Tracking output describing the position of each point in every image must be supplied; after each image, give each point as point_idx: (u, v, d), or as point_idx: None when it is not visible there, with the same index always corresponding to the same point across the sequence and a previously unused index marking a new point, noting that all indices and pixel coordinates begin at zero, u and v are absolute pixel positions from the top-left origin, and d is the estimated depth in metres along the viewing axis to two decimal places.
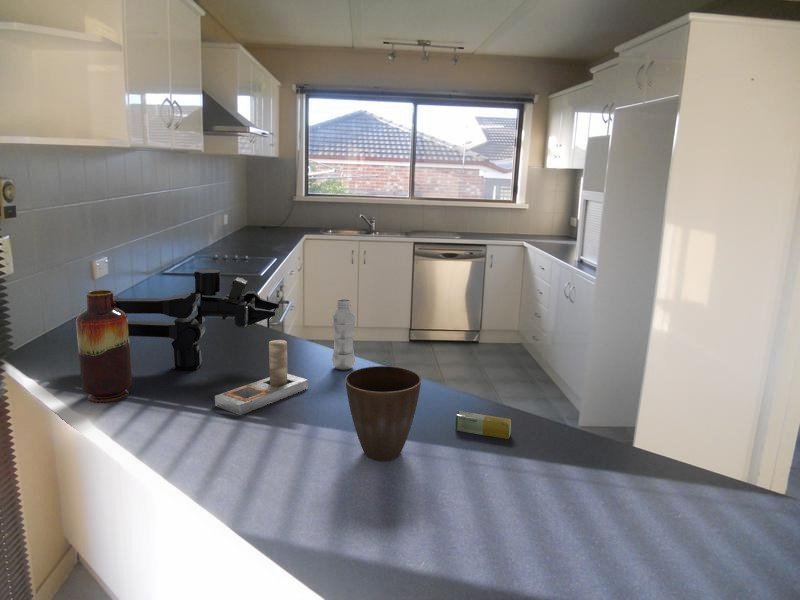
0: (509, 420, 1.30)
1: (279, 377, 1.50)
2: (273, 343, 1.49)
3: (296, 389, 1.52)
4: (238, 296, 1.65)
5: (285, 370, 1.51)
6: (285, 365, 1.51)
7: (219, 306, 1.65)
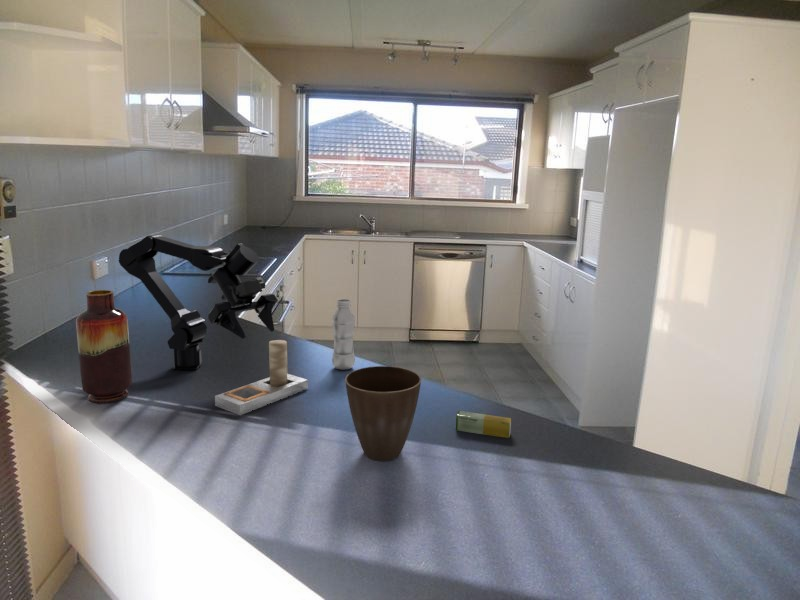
0: (509, 419, 1.30)
1: (279, 377, 1.50)
2: (273, 343, 1.49)
3: (296, 389, 1.52)
4: (239, 295, 1.54)
5: (285, 370, 1.51)
6: (285, 365, 1.51)
7: (224, 286, 1.56)
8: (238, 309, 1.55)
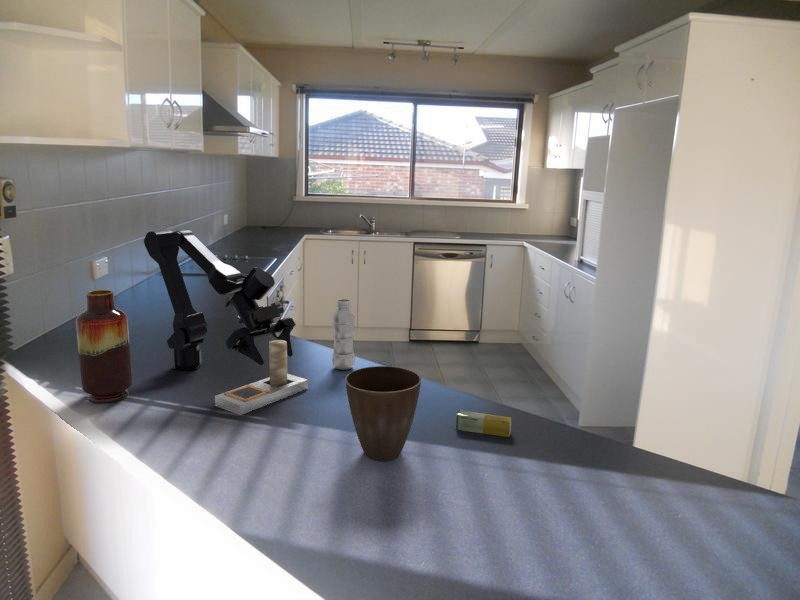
0: (509, 418, 1.31)
1: (279, 377, 1.50)
2: (273, 343, 1.49)
3: (296, 389, 1.52)
4: (257, 320, 1.50)
5: (285, 370, 1.51)
6: (285, 365, 1.51)
7: (242, 311, 1.53)
8: (256, 334, 1.52)
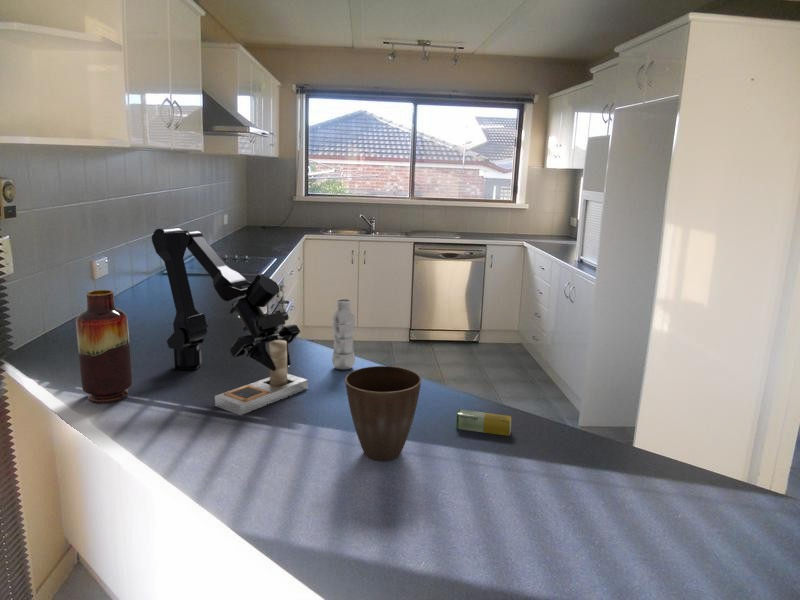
0: (509, 417, 1.31)
1: (279, 377, 1.50)
2: (273, 343, 1.49)
3: (296, 389, 1.52)
4: (262, 328, 1.50)
5: (285, 370, 1.51)
6: (285, 365, 1.51)
7: (246, 318, 1.52)
8: (260, 342, 1.51)
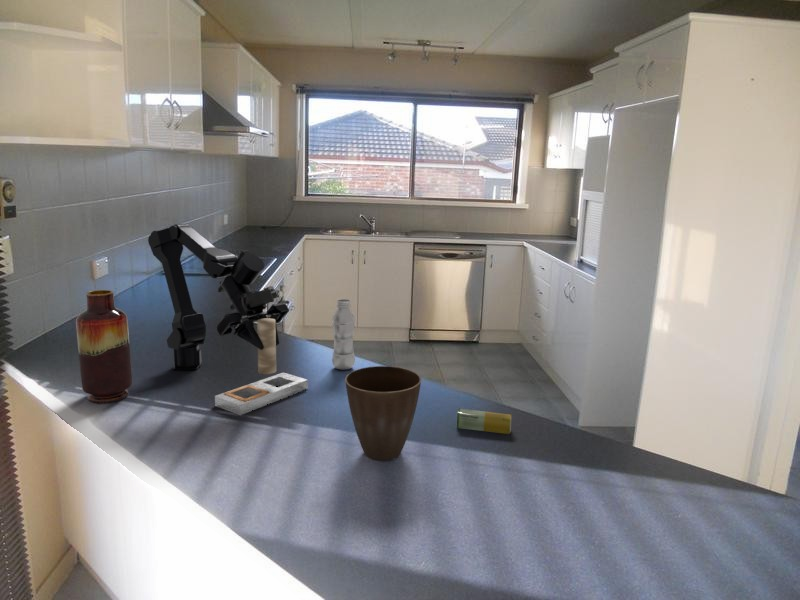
0: (509, 415, 1.32)
1: (267, 357, 1.46)
2: (261, 321, 1.45)
3: (296, 389, 1.52)
4: (249, 305, 1.45)
5: (274, 349, 1.47)
6: (274, 344, 1.46)
7: (234, 296, 1.48)
8: (248, 320, 1.47)
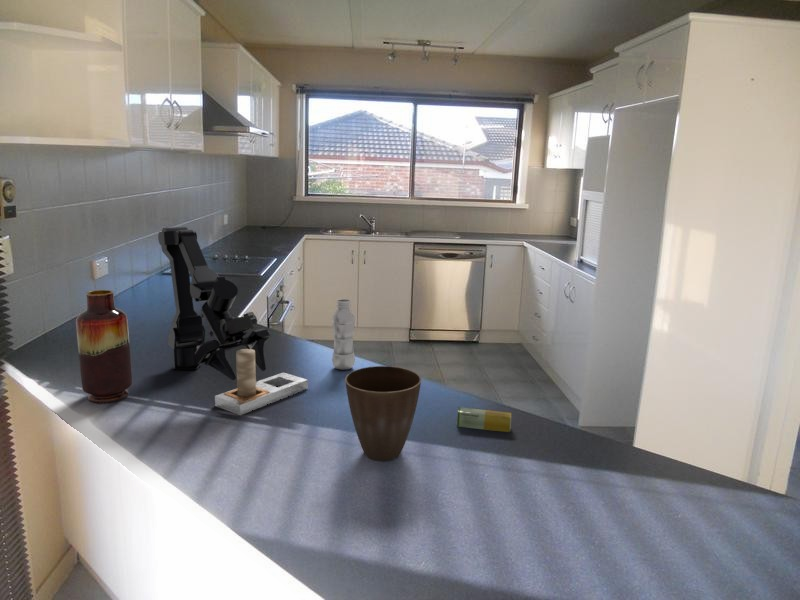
0: (509, 414, 1.33)
1: (246, 389, 1.42)
2: (240, 352, 1.41)
3: (296, 389, 1.52)
4: (228, 332, 1.41)
5: (254, 381, 1.43)
6: (253, 376, 1.42)
7: (213, 322, 1.44)
8: (227, 347, 1.43)
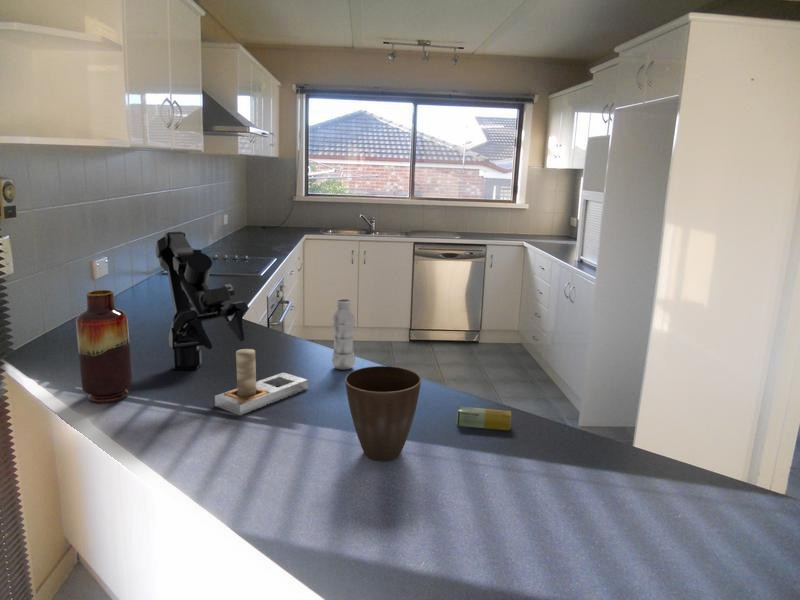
0: (509, 412, 1.34)
1: (246, 389, 1.42)
2: (240, 352, 1.41)
3: (296, 389, 1.52)
4: (206, 303, 1.45)
5: (254, 381, 1.43)
6: (253, 376, 1.43)
7: (191, 294, 1.48)
8: (206, 318, 1.47)
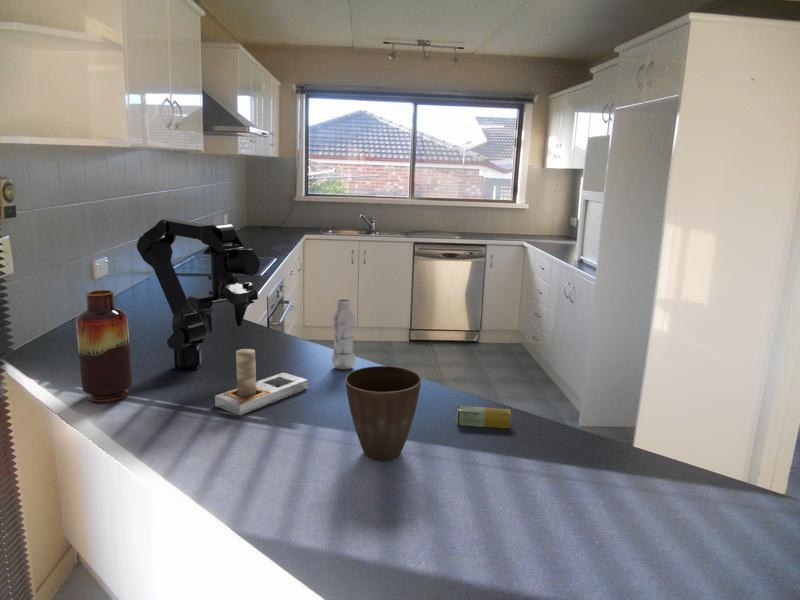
0: (509, 410, 1.35)
1: (246, 389, 1.42)
2: (240, 352, 1.41)
3: (296, 389, 1.52)
4: (224, 295, 1.55)
5: (254, 381, 1.43)
6: (253, 376, 1.42)
7: (215, 274, 1.55)
8: (217, 301, 1.57)
